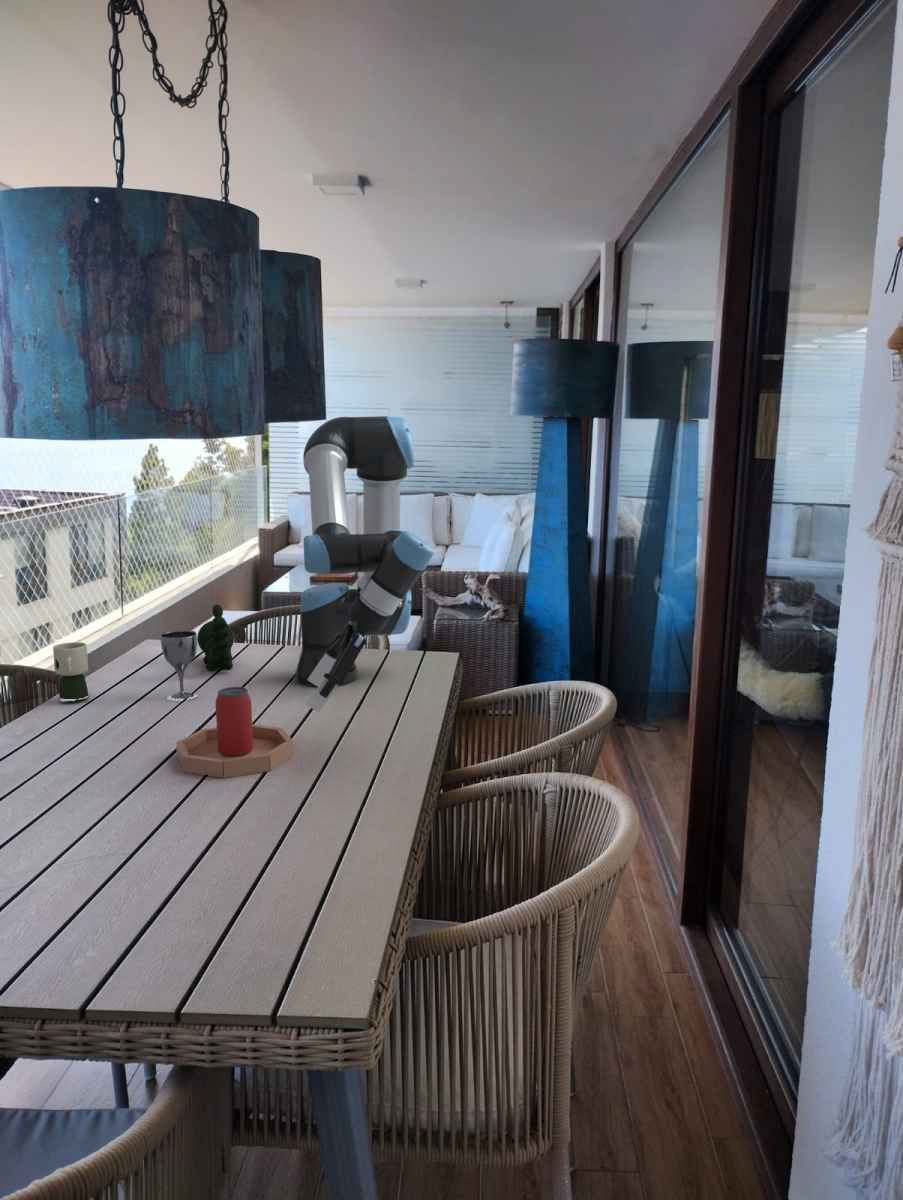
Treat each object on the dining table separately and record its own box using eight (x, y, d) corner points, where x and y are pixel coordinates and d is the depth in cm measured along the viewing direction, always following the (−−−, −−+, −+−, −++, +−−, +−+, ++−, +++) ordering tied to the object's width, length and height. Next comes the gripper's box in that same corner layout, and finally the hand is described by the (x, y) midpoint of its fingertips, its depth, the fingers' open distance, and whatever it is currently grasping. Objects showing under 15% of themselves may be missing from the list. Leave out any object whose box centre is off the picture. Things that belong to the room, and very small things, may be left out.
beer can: (245, 758, 177) (242, 696, 175) (212, 756, 178) (208, 694, 176) (258, 746, 183) (255, 686, 181) (226, 744, 185) (223, 685, 182)
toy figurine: (241, 682, 239) (232, 650, 262) (238, 609, 234) (229, 584, 257) (202, 685, 236) (196, 653, 259) (198, 612, 231) (193, 586, 254)
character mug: (60, 695, 222) (56, 641, 219) (93, 693, 224) (89, 639, 221) (54, 708, 212) (49, 652, 209) (88, 706, 213) (83, 650, 211)
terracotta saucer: (172, 747, 186) (171, 733, 185) (275, 733, 194) (274, 719, 194) (189, 783, 168) (188, 767, 167) (302, 766, 176) (301, 750, 175)
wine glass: (199, 700, 217) (196, 636, 214) (163, 703, 215) (159, 638, 213) (200, 691, 225) (196, 629, 222) (165, 693, 223) (161, 631, 220)
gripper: (395, 635, 169) (329, 730, 172) (386, 599, 193) (328, 682, 196) (360, 613, 167) (294, 709, 170) (355, 579, 191) (297, 664, 194)
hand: (312, 695), depth 183 cm, fingers open, 13 cm apart
